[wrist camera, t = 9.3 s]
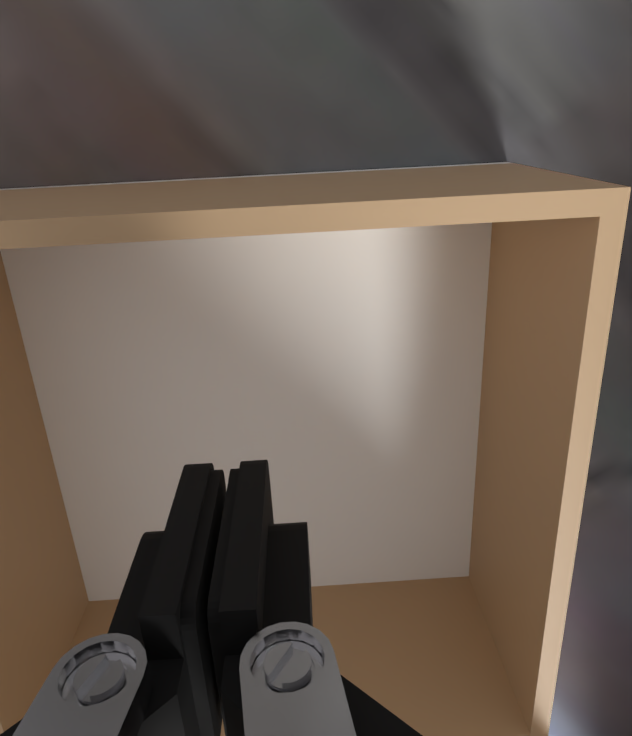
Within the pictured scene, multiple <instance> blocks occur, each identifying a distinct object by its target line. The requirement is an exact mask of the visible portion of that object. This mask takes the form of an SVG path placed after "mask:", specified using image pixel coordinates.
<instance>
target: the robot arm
mask: <svg viewBox="0 0 632 736" xmlns="http://www.w3.org/2000/svg"><path fill="white" fill-rule="evenodd" d="M222 718H223V724H224V730H225V736H423V735H421V734H420V733H419V732H417V731H416V730H414V729H413V728H412V727H410V726H409V725H408V724H406V723H405V722H404V721H402V720H401V719H400V718H398V717H397V716H396V715H394V714H393V713H392V712H390V711H389V710H388V709H386V708H385V707H384V706H382V705H381V704H380V703H378V702H377V701H376V700H374V699H373V698H372V697H370V696H369V695H368V694H366V693H365V692H363V691H362V690H361V689H359V688H358V687H357V686H355V685H354V684H353V683H351V682H350V681H349V680H347V679H346V678H345V677H343V676H342V675H341V674H340V671H339V668H338V664H337V660H336V656H335V652H334V649H333V647H332V645H331V643H330V641H329V639H328V638H327V637H326V636H325V635H324V634H323V633H322V632H321V631H320V630H319V629H317V628H315V627H313V616H312V593H311V573H310V555H309V540H308V526H307V522H296V523H280V524H274V519H273V508H272V497H271V486H270V475H269V465H268V460H252V461H241V462H240V467H239V468H237V469H230V473H229V479H228V485H227V491H226V484H225V477H224V471H223V469H221V470H214V466H213V464H212V463H203V464H186V465H184V467H183V470H182V474H181V477H180V480H179V483H178V487H177V490H176V493H175V497H174V500H173V503H172V506H171V510H170V513H169V516H168V520H167V523H166V526H165V530H164V531H152V532H145V533H144V534H143V535H142V537H141V539H140V542H139V545H138V548H137V551H136V554H135V556H134V559H133V562H132V565H131V568H130V571H129V573H128V576H127V579H126V582H125V585H124V588H123V590H122V593H121V596H120V599H119V602H118V605H117V607H116V610H115V613H114V616H113V619H112V622H111V624H110V627H109V630H108V633H107V634H102V635H99V636H95V637H92V638H89V639H87V640H85V641H83V642H81V643H79V644H78V645H76V646H74V647H73V648H72V649H70V650H69V651H68V652H67V653H66V654H64V655H63V656H62V657H61V658H60V660H59V661H58V662H57V664H56V665H55V666H54V667H53V669H52V670H51V672H50V674H49V675H48V677H47V679H46V680H45V682H44V684H43V685H42V687H41V689H40V690H39V692H38V694H37V695H36V697H35V699H34V700H33V702H32V704H31V705H30V707H29V709H28V710H27V712H26V714H25V716H24V717H23V719H21V720H20V721H19V722H17V723H16V724H14V725H13V726H11V727H10V728H9V729H7V730H6V731H4V732H3V733H2V734H0V736H220V735H221V727H222Z"/></svg>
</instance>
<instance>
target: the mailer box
mask: <svg viewBox="0 0 632 736" xmlns="http://www.w3.org/2000/svg"><path fill="white" fill-rule="evenodd" d="M630 192H631V187H629V186H624V185H619V184H614V183H609V182H604V181H599V180H594V179H589V178H585V177H580V176H575V175H570V174H565V173H560V172H555V171H550V170H545V169H540V168H535V167H531V166H526V165H521V164H516V163H511V162H496V163H477V164H458V165H439V166H421V167H402V168H383V169H364V170H345V171H326V172H307V173H288V174H269V175H250V176H231V177H212V178H194V179H175V180H156V181H137V182H118V183H99V184H80V185H61V186H42V187H23V188H4V189H0V734H2V733H3V732H4V731H6V730H7V729H9V728H10V727H11V726H13V725H14V724H16V723H17V722H19V721H20V720H21V719H23V717H24V716H25V714H26V712H27V710H28V709H29V707H30V705H31V704H32V702H33V700H34V699H35V697H36V695H37V694H38V692H39V690H40V689H41V687H42V685H43V684H44V682H45V680H46V679H47V677H48V675H49V674H50V672H51V670H52V669H53V667H54V666H55V665H56V664H57V662H58V661H59V660H60V658H61V657H62V656H63V655H64V654H66V653H67V652H68V651H69V650H70V649H72V648H73V647H74V646H76V645H78V644H79V643H81V642H83V641H85V640H87V639H89V638H92V637H95V636H99V635H102V634H107V633H108V630H109V627H110V624H111V622H112V619H113V616H114V613H115V610H116V607H117V605H118V602H119V599H120V596H121V593H122V590H123V588H124V585H125V582H126V579H127V576H128V573H129V571H130V568H131V565H132V562H133V559H134V556H135V554H136V551H137V548H138V545H139V542H140V539H141V537H142V535H143V534H144V533H145V532H152V531H164V530H165V526H166V523H167V520H168V516H169V513H170V510H171V506H172V503H173V500H174V497H175V493H176V490H177V487H178V483H179V480H180V477H181V474H182V470H183V467H184V465H186V464H203V463H212V464H213V466H214V470H221V469H223V471H224V477H225V484H226V491H227V485H228V479H229V473H230V469H237V468H239V467H240V462H241V461H252V460H268V465H269V475H270V486H271V497H272V508H273V519H274V524H280V523H296V522H307V526H308V540H309V555H310V573H311V593H312V616H313V627H315V628H317V629H319V630H320V631H321V632H322V633H323V634H324V635H325V636H326V637H327V638H328V639H329V641H330V643H331V645H332V647H333V649H334V652H335V656H336V660H337V664H338V668H339V671H340V674H341V675H342V676H343V677H345V678H346V679H347V680H349V681H350V682H351V683H353V684H354V685H355V686H357V687H358V688H359V689H361V690H362V691H363V692H365V693H366V694H368V695H369V696H370V697H372V698H373V699H374V700H376V701H377V702H378V703H380V704H381V705H382V706H384V707H385V708H386V709H388V710H389V711H390V712H392V713H393V714H394V715H396V716H397V717H398V718H400V719H401V720H402V721H404V722H405V723H406V724H408V725H409V726H410V727H412V728H413V729H414V730H416V731H417V732H419V733H420V734H421V735H423V736H548V733H549V726H550V719H551V713H552V706H553V700H554V693H555V686H556V680H557V673H558V667H559V660H560V653H561V647H562V640H563V634H564V627H565V620H566V614H567V607H568V601H569V594H570V587H571V581H572V574H573V568H574V561H575V554H576V548H577V541H578V535H579V528H580V521H581V515H582V508H583V502H584V495H585V488H586V482H587V475H588V469H589V462H590V455H591V449H592V442H593V436H594V429H595V422H596V416H597V409H598V403H599V396H600V390H601V383H602V376H603V370H604V363H605V357H606V350H607V343H608V337H609V330H610V324H611V317H612V310H613V304H614V297H615V291H616V284H617V277H618V271H619V264H620V258H621V251H622V244H623V238H624V231H625V225H626V218H627V211H628V205H629V198H630ZM220 736H225V730H224V724H223V718H222V727H221V735H220Z"/></svg>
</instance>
